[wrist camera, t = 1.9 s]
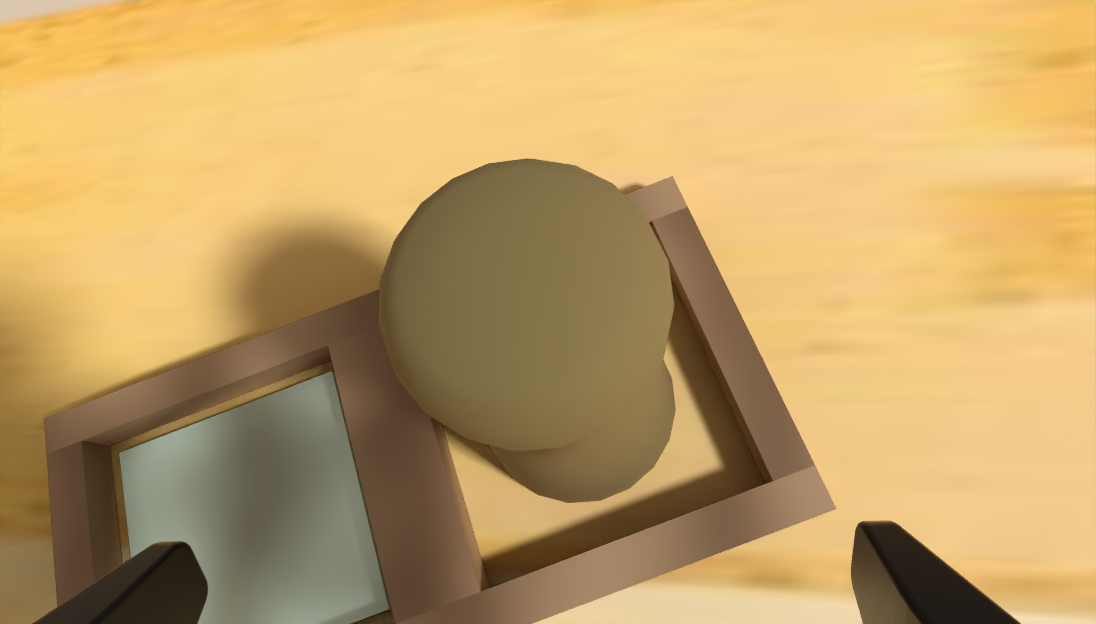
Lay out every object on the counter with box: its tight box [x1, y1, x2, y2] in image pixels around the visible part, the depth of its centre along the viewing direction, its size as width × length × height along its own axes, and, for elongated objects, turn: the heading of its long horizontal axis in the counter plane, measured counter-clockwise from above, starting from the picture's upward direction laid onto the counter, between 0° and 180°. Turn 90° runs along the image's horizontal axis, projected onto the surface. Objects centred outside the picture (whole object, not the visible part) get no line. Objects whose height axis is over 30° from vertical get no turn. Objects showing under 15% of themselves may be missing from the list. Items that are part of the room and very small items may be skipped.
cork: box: [379, 159, 676, 503], centre depth 15 cm, size 6×6×11 cm
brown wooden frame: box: [44, 176, 836, 624], centre depth 20 cm, size 22×11×1 cm, turn 109°
